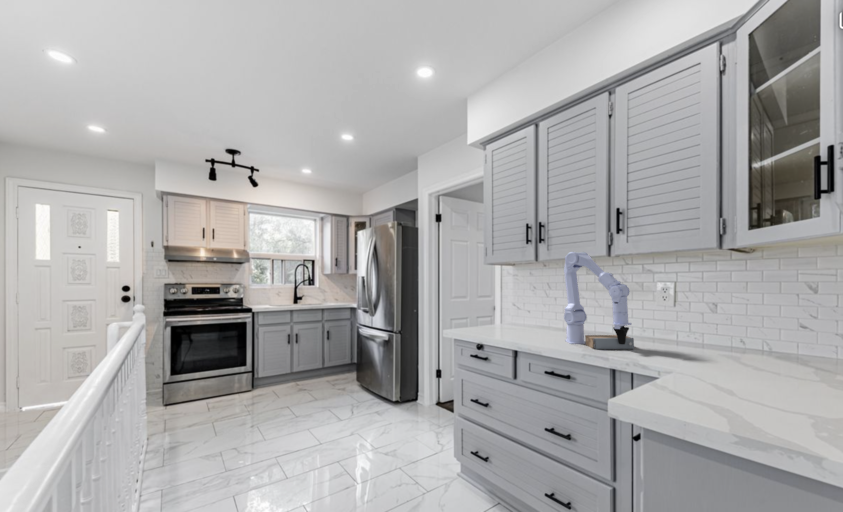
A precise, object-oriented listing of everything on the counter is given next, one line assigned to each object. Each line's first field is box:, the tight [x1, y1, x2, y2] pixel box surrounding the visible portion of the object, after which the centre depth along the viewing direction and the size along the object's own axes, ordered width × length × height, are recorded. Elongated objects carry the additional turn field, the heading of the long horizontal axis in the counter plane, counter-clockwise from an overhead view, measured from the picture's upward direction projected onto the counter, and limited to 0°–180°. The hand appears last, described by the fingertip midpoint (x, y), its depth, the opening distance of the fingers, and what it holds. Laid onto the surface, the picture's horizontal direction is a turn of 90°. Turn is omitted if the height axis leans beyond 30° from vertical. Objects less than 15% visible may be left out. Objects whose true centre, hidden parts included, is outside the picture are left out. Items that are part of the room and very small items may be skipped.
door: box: [593, 337, 635, 350], centre depth 159 cm, size 2×17×4 cm, turn 85°
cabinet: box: [584, 334, 632, 350], centre depth 165 cm, size 9×17×4 cm, turn 85°
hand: (622, 344), depth 157 cm, fingers closed, pressing on door
